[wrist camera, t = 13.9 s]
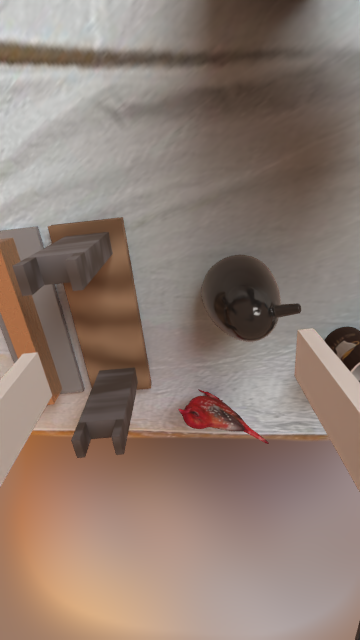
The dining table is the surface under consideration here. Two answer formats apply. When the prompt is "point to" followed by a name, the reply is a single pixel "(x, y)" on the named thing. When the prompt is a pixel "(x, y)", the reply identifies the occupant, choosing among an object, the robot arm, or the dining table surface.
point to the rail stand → (97, 320)
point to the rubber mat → (47, 316)
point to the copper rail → (23, 317)
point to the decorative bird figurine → (214, 415)
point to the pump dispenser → (244, 298)
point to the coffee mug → (346, 348)
